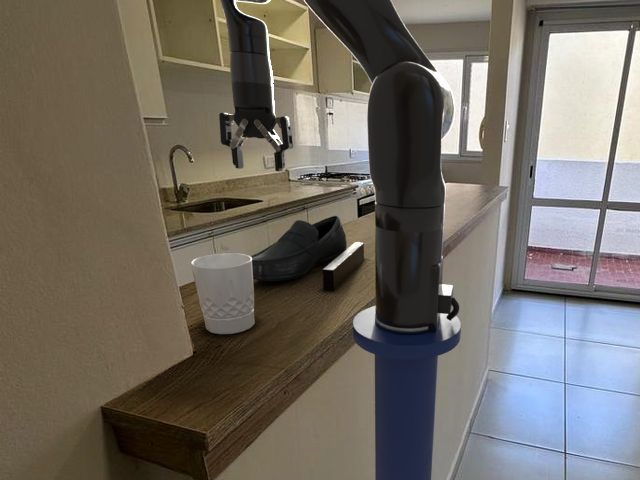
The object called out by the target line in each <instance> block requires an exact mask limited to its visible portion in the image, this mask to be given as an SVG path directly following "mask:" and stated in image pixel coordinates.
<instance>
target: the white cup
mask: <svg viewBox="0 0 640 480" xmlns="http://www.w3.org/2000/svg"><path fill="white" fill-rule="evenodd" d="M250 256H251V255H247V254H244V253H238V252H237V253H235V252H222V253H220V252H219V253H211V254H206V255H202V256H201V255H200V256H198V257H196V258H194V259H192V260H191V261H190V266H191V270H192V276H193V280H194V284H195V285H194V286H195V289H196V295H197V299H198V302H199V306H200V310H201V313H202V317H203V321H204V325H205V329H206V330H207V331H208V332H209V333H211V334H216V335H233V334H238V333H242V332H245V331H247V330H250V329H251V328H252V327H253V326H254V325H255V324H256V321H255V320H256V319H255V288H254V287H255V285H254V279H253V268H252V258H251V257H250Z"/></svg>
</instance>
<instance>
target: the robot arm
mask: <svg viewBox="0 0 640 480" xmlns="http://www.w3.org/2000/svg"><path fill="white" fill-rule="evenodd" d="M303 1H304V3H305V4H306V5H307V7H308V8H309V9H310V10H311V11H312V13H314V15H315V16H316V17H317V18H318V19H319V20H320V22H322V23H323V25H324V26H325V27H326V28H327V29H328V30H329V31H330V32H331V33H332V34H333V35H334V36H335V38H337V39H338V41H339V42H340V43H342V45H343V46H344V47H345V48H346V49H347V50H348V51H349V52H350V53H351V55H353V57H354V58H355V59H356V60H357V62H358V63H359V65H360V67H361V68H362V69H363V71H364V72H365V74H366V75H367V77H368V79H369V81H370V83H371V84H372V85H371V86H370V90H369V92H368V93H369V94H368V99H367V105H366V107H367V109H366V128H367V130H366V131H367V150H368V151H367V153H368V171H369V177H370V181H371V183H372V186H373V189H374V190H373V191H374V201H375V202H374V231H375V232H374V241H375V242H374V243H375V244H374V245H375V246H374V247H375V248H374V255H375V257H374V258H375V260H374V263H375V264H374V265H375V269H374V270H375V273H374V274H375V275H374V277H375V280H374V281H375V285H374V286H375V289H374V290H375V291H374V292H375V293H374V294H375V306H376V307H375V313H376V314H375V324H376V325H377V326H378V327H379V328H380V329H382V330H384V331H387V332H390V333H394V334H401V335H416V334H423V333H428V332H431V333H436V332H437V328H438V325H439V320H440V313H442V314H448V315H447V316H446V318H447V319H448V320H450V321H451V320H452V319H453V318H454V317H455V316H457V315H458V314H459V312H460V304H459V302H458V300H457V299H456V298H455V297H454V285H452V284H443V276H444V275H443V274H444V273H443V272H444V256H443V248H444V246H443V245H444V230H445V229H444V226H445V209H446V206H445V205H446V194H447V191H446V190H447V189H446V188H447V187H446V183H445V180H444V177H443V173H442V140H444V139H445V138H446V136H447V135H448V134H449V132H450V131H451V130H452V127H453V124H454V121H455V116H456V115H455V113H456V107H455V98H454V95H453V94H454V93H453V91H452V89H451V87H450V85H449V84H448V81H446V80H445V78H444V77H443V76H442V74H440V72H439V71H438V70H437V68H436V67H435V65H434V64H433V63H432V62H431V60H430V59H429V58H428V56H427V55H426V54H425V52H424V51H423V49H422V48H421V47H420V45H419V44H418V42H417V41H416V39H415V38H414V37H413V36H412V34H411V32H410V31H409V29H408V28H407V27H406V25H405V23H404V22H403V20H402V19H401V16H400V15H399V13H398V11H397V9H396V7H395V5H394V3H393V1H392V0H303ZM219 2H220V4H221V8H222V11H223V15H224V18H225V19H224V20H225V23H226V29H227V37H228V48H229V72H230V83H231V92H232V93H231V94H232V103H233V107H234V112H233V114H230V113H229V112H220V113H219V114H218V115H219V116H218V117H219V119H218V120H219V134H220V143H221V145H223V146H226V147H228V148H230V150H231V159H232V164H233V166H234V167H235V169H238V170H240V169H244V167H245V165H244V156H243V154H244V153H243V149H242V146H243V145H244V144H245V142H246V141H247V140H248V139H262V140H263V139H264V140H266V141H267V143H269V144H270V145H271V146H272V148H273V150H274V152H273V156H274V157H273V159H274V169H275V172H283V170H284V169H286V157H285V153H286V151H289V150H291V149H293V148H294V147H295V146H294V137H293V130H292V128H293V127H292V120H291V117H289V116H286V115H285V116H277V115H276V114H275V100H274V98H275V97H274V84H273V83H274V77H273V70H272V65H271V64H272V63H271V59H270V46H269V45H270V43H269V32H268V27H267V24H266V23H265V22H264V21H263V20H262V19H259V18H257V17H255V16H252V15H248V14H245V13H243V12H242V11H241V10H239V8H238V6H237V2H239V3H240V2H241V3H251V4H258V5H265V4H268V3H269V2H271V0H219ZM234 123H235V125H237V127H238V128H237V129H236V131H235V132H234V134H233V125H234ZM277 125H278V126H277ZM276 126H277V127H278V128H279V129H280V130H281V131H280V133H281V140H282V141H281V140H280V137H279V135H278V133H276V131H275V127H276Z"/></svg>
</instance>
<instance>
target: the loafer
mask: <svg viewBox="0 0 640 480" xmlns="http://www.w3.org/2000/svg"><path fill="white" fill-rule="evenodd" d="M347 246H348V245H347V234H346V233H345V230H344V228H343V224H342V221H341V218H340V217H339V216H338V215H332V216H330V217H326V218H324V219H322V220H319V221H317V222H314V223H310V222H308V221H306V220H303V219H297V220H295V221H294V222H293V223H292V225H290V227H289V229H287V230H286V231H285V233H283V234H282V235H281V236H280V237H279V238H278V240H277V241H275V242H274V243H273V244H270V245H269V246H268V247H266V248H265V249H262V250H260V251H259V252H256V253H254V254H252V255H249V256H250V257H251V258H252V268H253V280H256V281H262V282H281V281H291V280H297V279H299V278H302V277H303V276H305V274H307V273H308V272H309V271H310V270H311V269H312V268H313V267H316V266H322V265H323V266H327V265H329V264H330V263H331V262H332V261H333V260H335V259H336V258H337V257H338V256H339V255H341V254H342V253H343V252H344V251H345V250H347Z"/></svg>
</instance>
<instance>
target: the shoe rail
mask: <svg viewBox="0 0 640 480" xmlns="http://www.w3.org/2000/svg"><path fill="white" fill-rule="evenodd" d="M364 260H365V242H360V241H355V242H354V243H353V244H351V245H350V246H349V247H348V248H346V250H345V251H344V252H343V253H342V254H341V255H339V256H338V257H337V258H336V259H335V260H333V261H332V262H331V263H329V264H326V265H325V267H324V268H322V285H323V291H326V292H327V291H328V292H330V291H331V292H334V291H335V290H336V289H337V288H339V286H341V285H342V284H343V282H345V281H346V279H347V278H348V277H349V276H350V275H351V274H352V273H353V272H354V271H355V270H356V269H357V268H358V267H359V266H360V265H361V264H362V263H363V261H364Z"/></svg>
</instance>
